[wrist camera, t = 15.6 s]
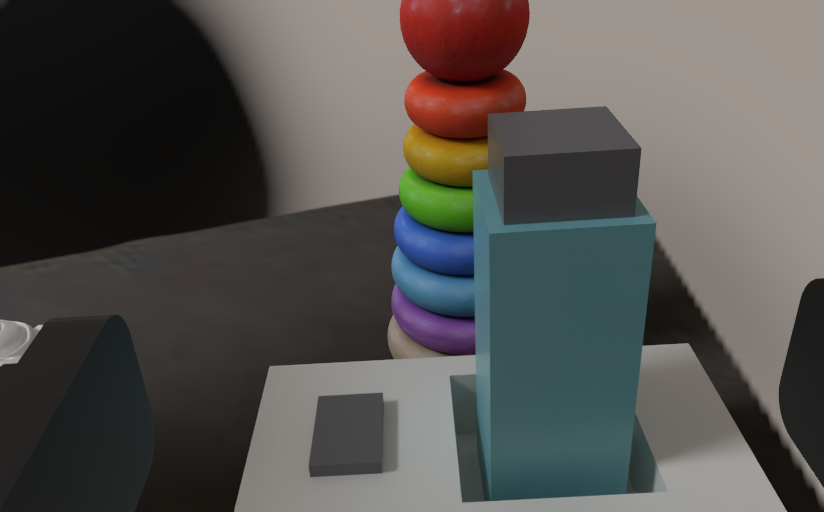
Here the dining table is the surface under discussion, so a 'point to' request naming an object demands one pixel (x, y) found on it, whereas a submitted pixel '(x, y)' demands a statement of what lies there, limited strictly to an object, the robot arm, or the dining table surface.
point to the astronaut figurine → (15, 340)
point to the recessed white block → (457, 442)
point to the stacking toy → (448, 164)
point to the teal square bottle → (558, 303)
